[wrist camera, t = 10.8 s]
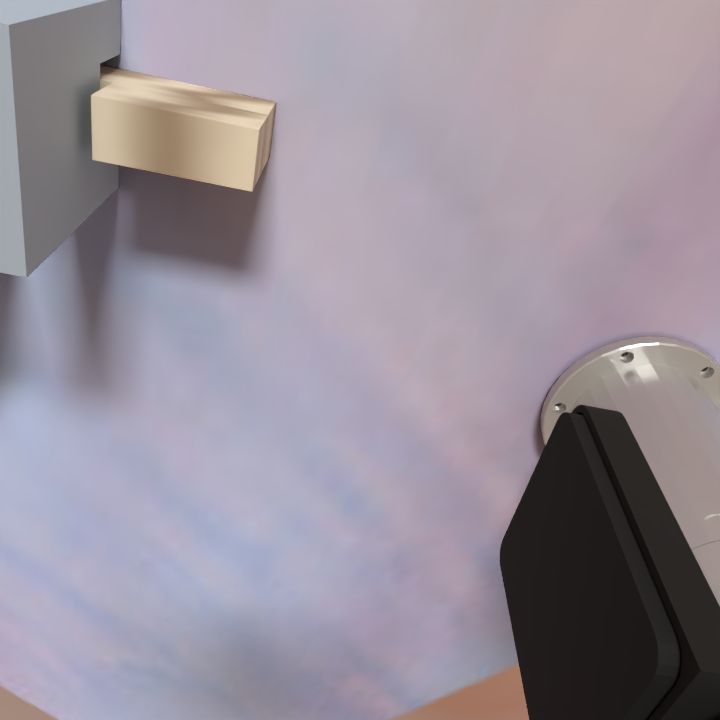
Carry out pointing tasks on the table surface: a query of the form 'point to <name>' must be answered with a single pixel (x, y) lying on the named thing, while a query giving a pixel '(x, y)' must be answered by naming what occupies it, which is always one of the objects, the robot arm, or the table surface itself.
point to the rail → (180, 129)
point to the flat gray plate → (50, 123)
